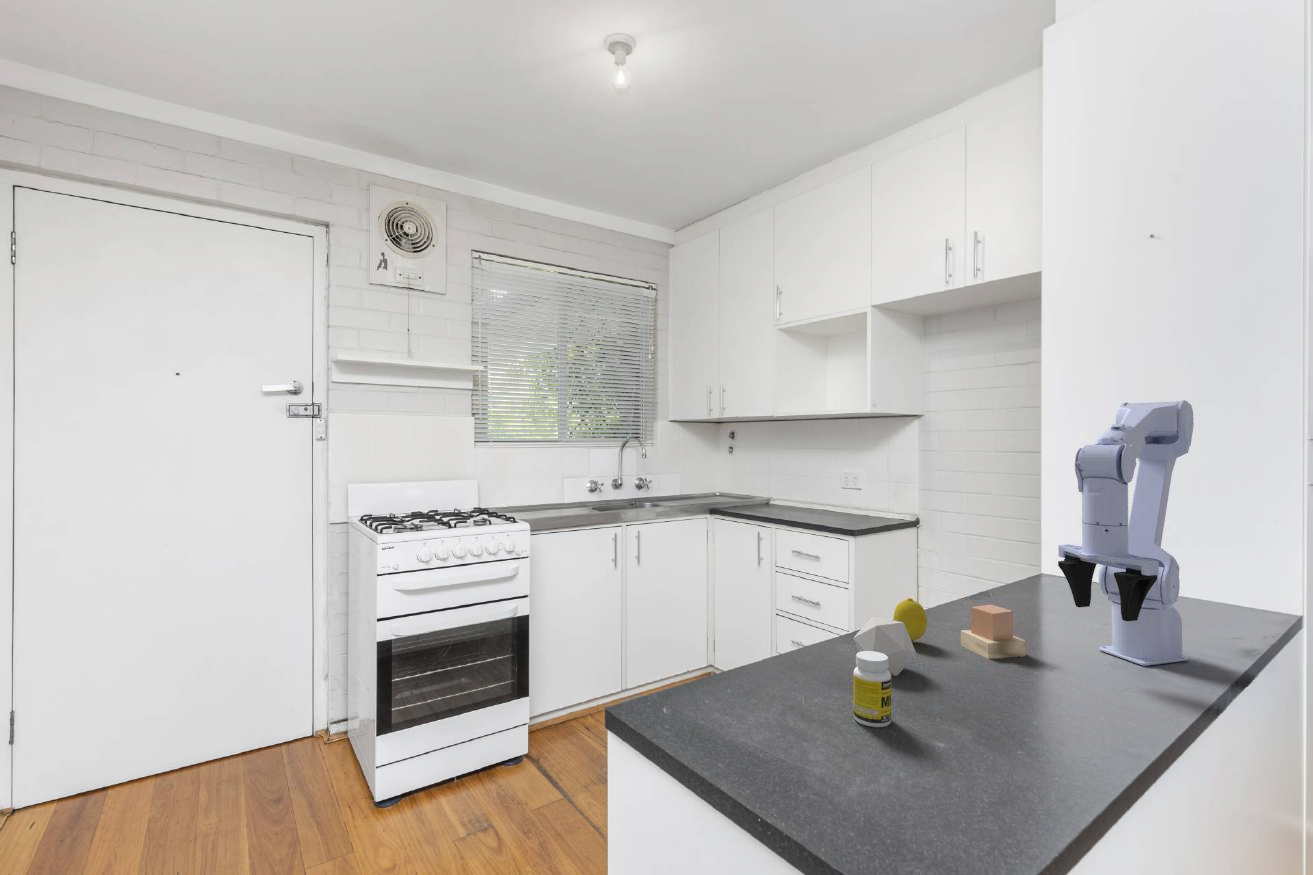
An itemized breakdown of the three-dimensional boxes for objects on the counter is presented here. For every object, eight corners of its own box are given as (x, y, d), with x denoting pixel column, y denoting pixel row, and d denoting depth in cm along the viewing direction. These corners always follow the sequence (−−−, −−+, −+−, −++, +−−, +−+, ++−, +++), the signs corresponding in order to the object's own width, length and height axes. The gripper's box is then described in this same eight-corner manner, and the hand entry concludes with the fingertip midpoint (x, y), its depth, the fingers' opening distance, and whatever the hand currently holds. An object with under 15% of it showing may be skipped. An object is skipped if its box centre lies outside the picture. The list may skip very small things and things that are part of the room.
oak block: (996, 644, 111) (996, 628, 111) (1025, 658, 104) (1025, 640, 104) (960, 647, 110) (960, 630, 110) (988, 661, 103) (988, 643, 103)
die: (924, 673, 99) (899, 615, 104) (922, 662, 92) (895, 601, 97) (873, 688, 100) (851, 630, 106) (868, 678, 94) (844, 617, 99)
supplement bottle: (887, 731, 78) (886, 664, 78) (849, 722, 81) (848, 657, 81) (895, 716, 82) (894, 653, 82) (858, 708, 85) (858, 647, 85)
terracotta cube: (991, 629, 110) (990, 604, 110) (1013, 637, 106) (1012, 611, 106) (971, 632, 109) (971, 606, 109) (993, 640, 105) (992, 613, 105)
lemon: (930, 648, 108) (929, 602, 108) (896, 646, 109) (896, 601, 109) (923, 638, 114) (922, 594, 114) (891, 636, 115) (890, 593, 115)
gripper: (1042, 518, 101) (1043, 602, 101) (1131, 531, 87) (1131, 629, 87) (1077, 516, 102) (1078, 599, 102) (1170, 529, 88) (1170, 625, 88)
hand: (1105, 613), depth 95 cm, fingers open, 7 cm apart
